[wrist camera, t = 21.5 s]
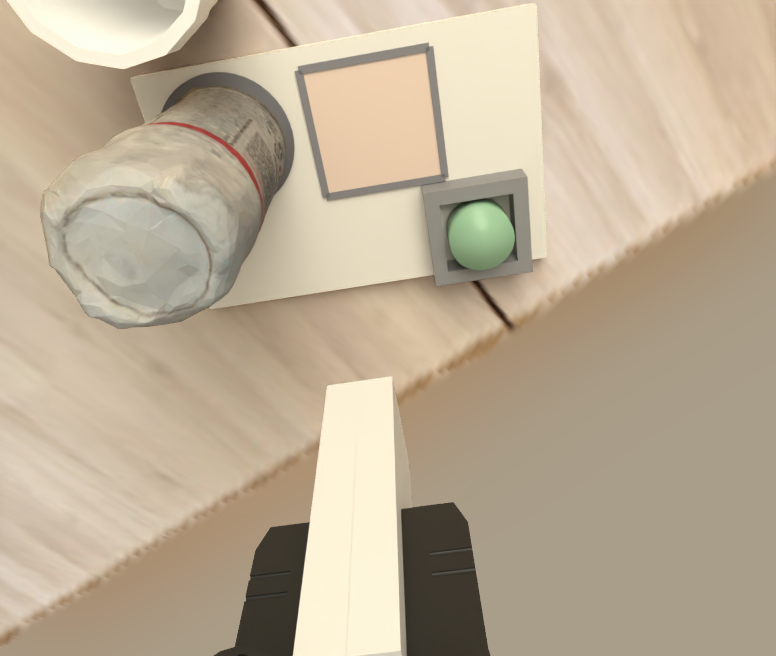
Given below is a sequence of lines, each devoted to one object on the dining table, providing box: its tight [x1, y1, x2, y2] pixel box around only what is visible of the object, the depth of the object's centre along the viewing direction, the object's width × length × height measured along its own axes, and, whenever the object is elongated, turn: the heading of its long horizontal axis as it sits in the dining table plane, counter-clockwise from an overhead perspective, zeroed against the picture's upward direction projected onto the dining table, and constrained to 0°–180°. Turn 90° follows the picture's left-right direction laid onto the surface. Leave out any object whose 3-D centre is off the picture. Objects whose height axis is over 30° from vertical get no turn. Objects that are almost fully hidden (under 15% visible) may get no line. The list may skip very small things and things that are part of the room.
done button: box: [446, 198, 515, 270], centre depth 43 cm, size 4×4×3 cm
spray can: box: [40, 86, 286, 329], centre depth 33 cm, size 8×8×20 cm
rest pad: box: [161, 72, 295, 195], centre depth 42 cm, size 9×9×1 cm
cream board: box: [129, 3, 547, 310], centre depth 43 cm, size 26×17×3 cm, turn 99°
